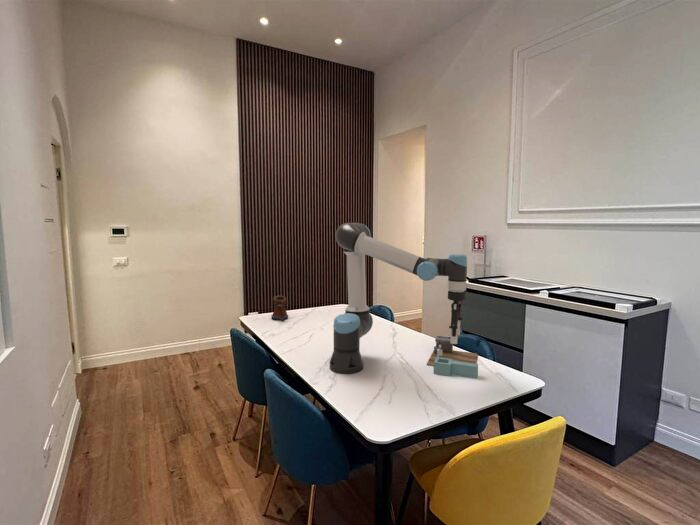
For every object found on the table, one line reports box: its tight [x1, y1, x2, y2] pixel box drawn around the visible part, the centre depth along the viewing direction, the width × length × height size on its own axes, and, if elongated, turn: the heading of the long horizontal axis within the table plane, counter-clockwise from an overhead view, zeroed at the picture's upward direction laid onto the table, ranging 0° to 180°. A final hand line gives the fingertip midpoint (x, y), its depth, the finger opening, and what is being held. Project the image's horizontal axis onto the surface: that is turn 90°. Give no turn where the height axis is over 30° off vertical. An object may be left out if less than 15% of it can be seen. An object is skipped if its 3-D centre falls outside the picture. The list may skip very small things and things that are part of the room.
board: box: [426, 349, 478, 367], centre depth 183 cm, size 24×21×1 cm
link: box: [433, 357, 479, 379], centre depth 166 cm, size 18×7×5 cm, turn 69°
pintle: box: [437, 345, 442, 358], centre depth 178 cm, size 2×2×9 cm
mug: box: [270, 294, 289, 322], centre depth 252 cm, size 18×12×15 cm, turn 24°
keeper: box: [433, 335, 454, 354], centre depth 191 cm, size 8×8×7 cm
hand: (455, 338), depth 165 cm, fingers open, 13 cm apart
